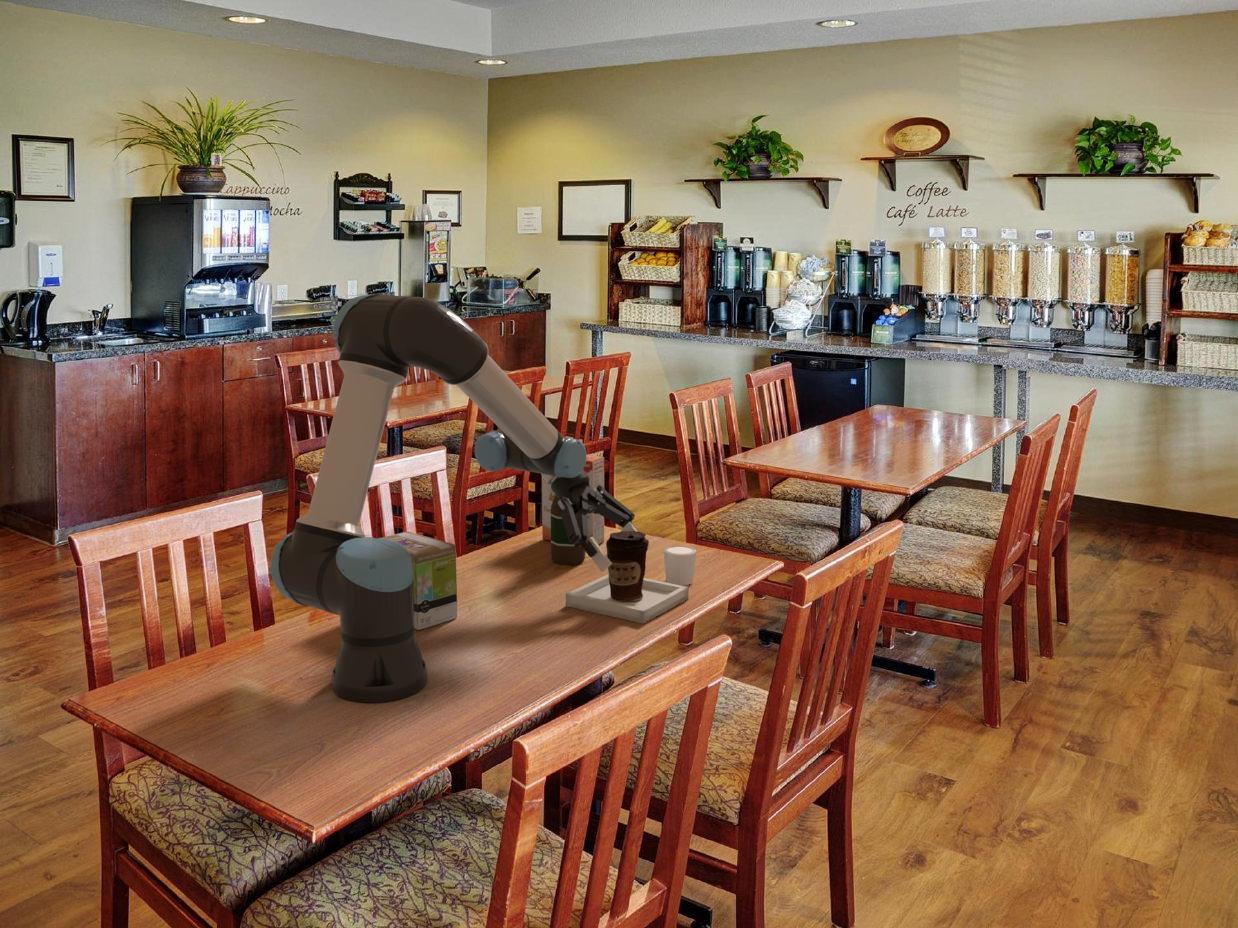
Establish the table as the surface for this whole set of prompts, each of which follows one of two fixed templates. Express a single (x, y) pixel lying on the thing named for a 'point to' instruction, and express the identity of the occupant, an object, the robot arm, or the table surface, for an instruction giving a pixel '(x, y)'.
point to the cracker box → (594, 521)
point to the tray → (651, 605)
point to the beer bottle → (563, 541)
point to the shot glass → (679, 564)
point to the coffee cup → (627, 564)
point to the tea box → (431, 578)
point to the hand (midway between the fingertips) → (626, 559)
